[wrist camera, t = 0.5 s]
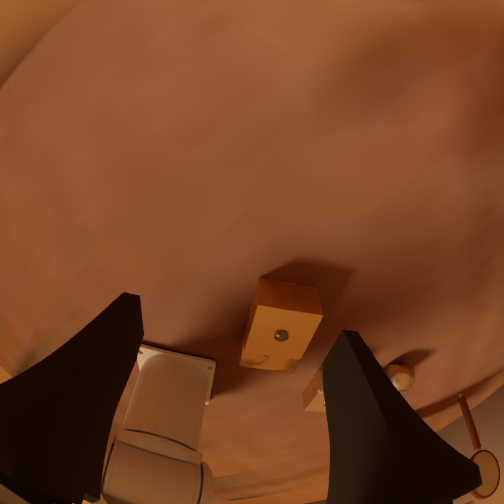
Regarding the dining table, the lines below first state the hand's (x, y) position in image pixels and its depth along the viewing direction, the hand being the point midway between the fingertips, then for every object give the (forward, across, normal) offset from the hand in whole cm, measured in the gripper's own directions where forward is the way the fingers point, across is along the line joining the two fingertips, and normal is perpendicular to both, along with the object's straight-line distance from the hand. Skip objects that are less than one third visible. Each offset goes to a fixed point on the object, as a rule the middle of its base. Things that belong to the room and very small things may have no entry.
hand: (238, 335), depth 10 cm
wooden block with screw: (+10, -4, +8) cm, 13 cm away
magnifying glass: (+10, -37, +21) cm, 44 cm away
